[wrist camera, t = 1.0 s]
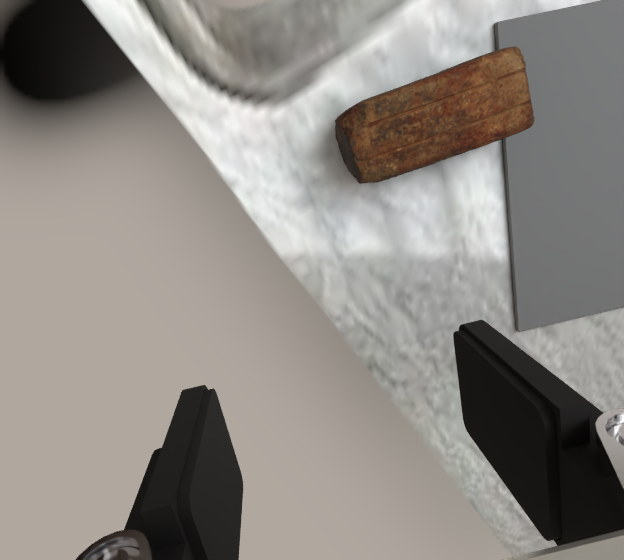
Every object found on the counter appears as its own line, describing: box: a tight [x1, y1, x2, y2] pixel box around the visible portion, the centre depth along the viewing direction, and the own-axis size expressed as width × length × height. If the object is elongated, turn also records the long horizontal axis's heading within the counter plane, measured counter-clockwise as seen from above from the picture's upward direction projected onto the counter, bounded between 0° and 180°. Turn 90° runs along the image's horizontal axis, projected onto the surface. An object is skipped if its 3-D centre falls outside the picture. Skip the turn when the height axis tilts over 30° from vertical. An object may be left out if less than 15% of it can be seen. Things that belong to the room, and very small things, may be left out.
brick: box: [335, 46, 534, 183], centre depth 26 cm, size 11×4×5 cm
